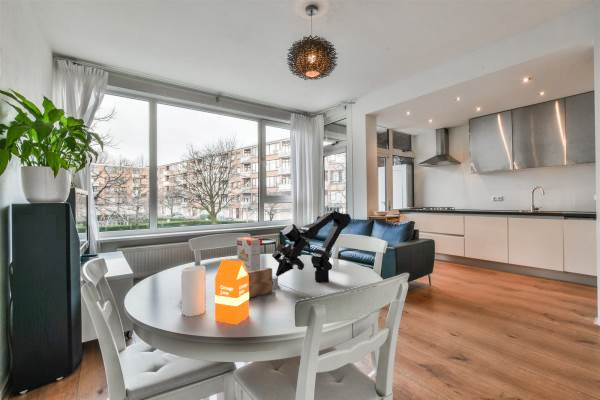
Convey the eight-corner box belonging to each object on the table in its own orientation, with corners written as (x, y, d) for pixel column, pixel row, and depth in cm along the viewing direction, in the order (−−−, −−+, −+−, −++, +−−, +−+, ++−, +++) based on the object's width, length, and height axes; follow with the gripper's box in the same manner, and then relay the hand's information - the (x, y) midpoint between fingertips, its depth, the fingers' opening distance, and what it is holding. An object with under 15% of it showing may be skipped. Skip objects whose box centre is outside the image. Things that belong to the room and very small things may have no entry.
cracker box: (236, 276, 152) (236, 237, 152) (246, 274, 156) (246, 236, 156) (250, 281, 142) (250, 240, 142) (260, 279, 146) (260, 239, 146)
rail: (270, 291, 126) (270, 287, 126) (275, 294, 123) (275, 289, 123) (223, 302, 113) (223, 298, 113) (227, 305, 110) (227, 301, 110)
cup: (197, 317, 99) (197, 271, 99) (177, 315, 101) (176, 270, 101) (209, 308, 107) (209, 266, 107) (190, 306, 109) (190, 265, 109)
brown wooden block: (269, 289, 125) (269, 267, 125) (272, 291, 123) (272, 268, 123) (244, 295, 118) (244, 271, 118) (248, 297, 115) (248, 273, 115)
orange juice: (228, 312, 103) (228, 257, 103) (249, 315, 100) (249, 259, 100) (214, 320, 96) (214, 261, 96) (236, 324, 93) (236, 263, 93)
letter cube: (277, 285, 136) (277, 276, 136) (276, 288, 131) (276, 278, 131) (268, 285, 136) (268, 275, 137) (266, 288, 132) (266, 278, 132)
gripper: (275, 235, 137) (255, 261, 130) (298, 239, 122) (277, 268, 115) (288, 249, 141) (269, 275, 135) (312, 255, 127) (293, 284, 120)
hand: (276, 275), depth 126 cm, fingers closed
